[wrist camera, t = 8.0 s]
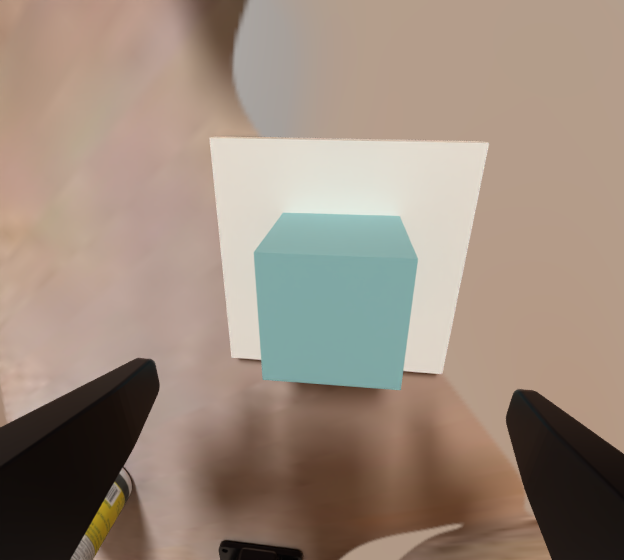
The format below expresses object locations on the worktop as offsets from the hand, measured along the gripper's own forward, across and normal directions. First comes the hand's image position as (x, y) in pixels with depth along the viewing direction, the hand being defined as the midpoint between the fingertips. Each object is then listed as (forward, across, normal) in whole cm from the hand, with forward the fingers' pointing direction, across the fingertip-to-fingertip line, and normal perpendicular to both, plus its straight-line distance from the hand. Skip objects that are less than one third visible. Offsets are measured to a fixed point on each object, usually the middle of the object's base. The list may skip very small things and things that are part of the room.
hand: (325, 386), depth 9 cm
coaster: (+9, 0, 0) cm, 9 cm away
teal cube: (+8, 0, 0) cm, 8 cm away
